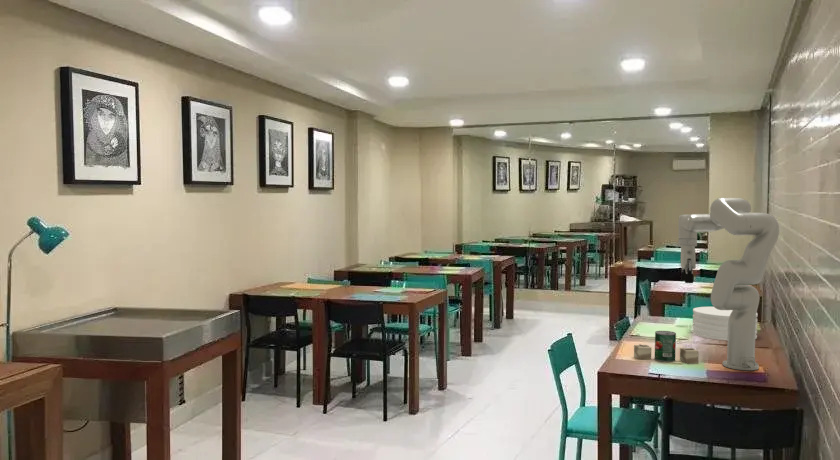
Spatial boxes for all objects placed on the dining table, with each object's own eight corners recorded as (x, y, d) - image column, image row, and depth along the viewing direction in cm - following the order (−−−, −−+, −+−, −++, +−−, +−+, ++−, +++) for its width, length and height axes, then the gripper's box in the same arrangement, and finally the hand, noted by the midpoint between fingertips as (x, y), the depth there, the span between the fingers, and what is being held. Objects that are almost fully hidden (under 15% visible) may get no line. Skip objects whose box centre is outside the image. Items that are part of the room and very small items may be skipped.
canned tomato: (650, 358, 265) (650, 331, 264) (665, 356, 267) (666, 330, 267) (663, 362, 257) (664, 335, 257) (679, 361, 260) (680, 333, 259)
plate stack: (737, 343, 293) (738, 318, 293) (680, 333, 316) (681, 309, 315) (768, 336, 310) (769, 312, 309) (712, 327, 332) (712, 304, 332)
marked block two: (651, 359, 262) (651, 347, 262) (639, 360, 262) (639, 347, 262) (645, 356, 267) (645, 344, 267) (633, 357, 267) (634, 344, 267)
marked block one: (698, 363, 257) (698, 350, 257) (686, 363, 256) (686, 350, 256) (691, 360, 262) (692, 347, 262) (679, 360, 261) (680, 347, 261)
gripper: (700, 243, 276) (699, 284, 277) (693, 242, 293) (692, 280, 293) (681, 243, 278) (680, 283, 278) (675, 241, 295) (675, 279, 295)
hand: (687, 281), depth 286 cm, fingers open, 9 cm apart
